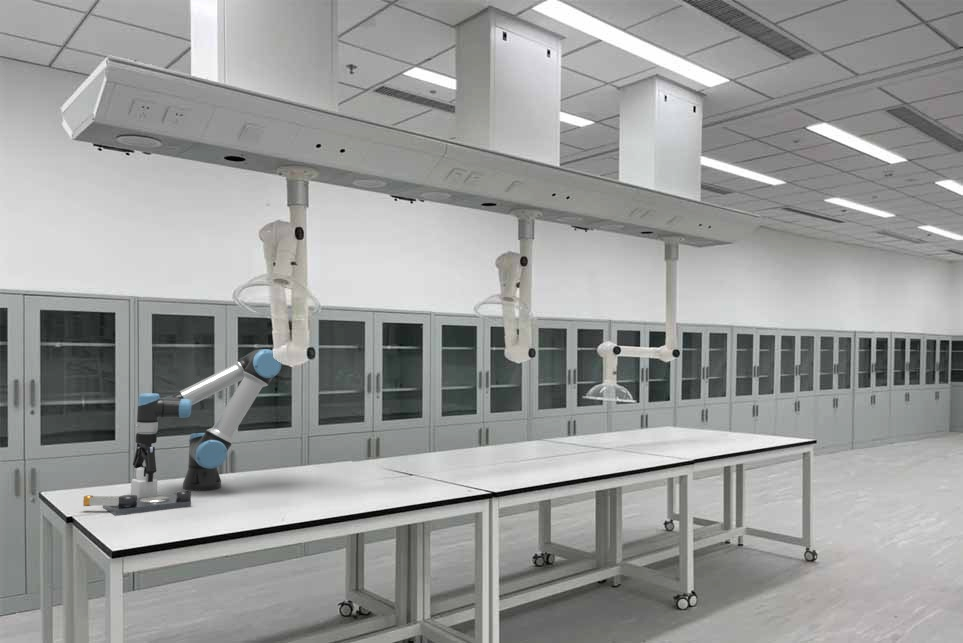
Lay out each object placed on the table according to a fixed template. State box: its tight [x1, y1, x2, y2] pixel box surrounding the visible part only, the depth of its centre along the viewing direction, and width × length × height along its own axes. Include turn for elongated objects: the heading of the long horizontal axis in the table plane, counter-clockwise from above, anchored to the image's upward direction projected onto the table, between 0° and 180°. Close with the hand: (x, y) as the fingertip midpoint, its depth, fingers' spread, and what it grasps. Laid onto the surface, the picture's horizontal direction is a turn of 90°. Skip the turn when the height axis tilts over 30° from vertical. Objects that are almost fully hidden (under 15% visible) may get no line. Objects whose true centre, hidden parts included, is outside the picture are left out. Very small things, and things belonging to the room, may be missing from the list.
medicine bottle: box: [130, 465, 158, 498], centre depth 281 cm, size 7×7×12 cm
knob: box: [175, 490, 192, 502], centre depth 270 cm, size 8×5×3 cm, turn 42°
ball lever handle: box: [82, 494, 137, 507], centre depth 257 cm, size 18×6×3 cm, turn 96°
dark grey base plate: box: [102, 493, 192, 517], centre depth 266 cm, size 26×16×2 cm, turn 132°
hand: (143, 487), depth 281 cm, fingers open, 13 cm apart
